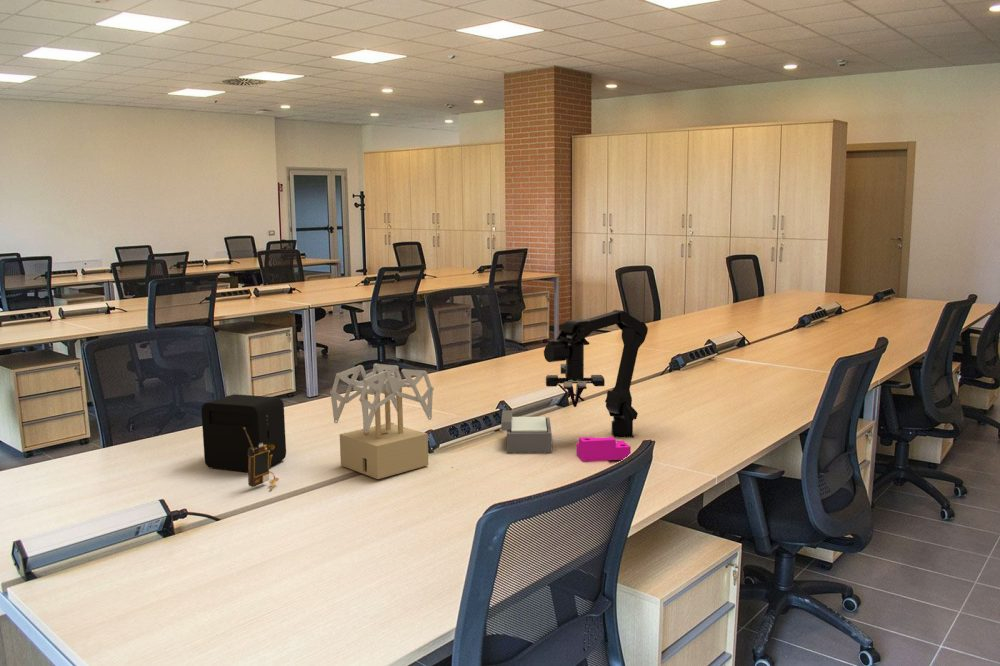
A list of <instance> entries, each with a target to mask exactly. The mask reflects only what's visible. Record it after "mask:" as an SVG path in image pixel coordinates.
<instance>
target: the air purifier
mask: <svg viewBox="0 0 1000 666" xmlns="http://www.w3.org/2000/svg"><path fill="white" fill-rule="evenodd" d="M200 410H201V422H202V423H201V424H202V438H203V439H202V441H203V454H204V455H203V456H204V457H203V458H204V463H205V464H206V466H207V467H209V468H210V467H212V468H211V469H216V468H218V469H217V470H225V469H227V471H237V472H245V473H248V449H249V448H250V447H251V445H250V443H249V440H248V437H247V435H246V432H247V434H248V436H249V438H250V440H251V443H252V445H253V447H257V446H259V443H263V444H267V445H274V446H275V448H274V449H273V450H271V449H270V448H269V450H270V453H269V456H270V455H273V456H272V458H271V464H270V467H271V466H273V465H275V464H277V463H279V462H282V461H283V460H285V459H286V456H287V444H286V443H287V441H286V423H285V420H286V419H285V405H284V401H283V400H282V399H281V398H280V397H277V396H267V395H265V396H264V395H249V394H235V393H233V394H231V395H227V396H224V397H221V398H218V399H214V400H210V401H208V402H205V403H203V404H202V406H201V408H200ZM244 427H245V430H246V432H245V430H244V429H243V428H244Z"/></svg>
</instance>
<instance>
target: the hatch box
mask: <svg viewBox="0 0 1000 666" xmlns="http://www.w3.org/2000/svg"><path fill="white" fill-rule="evenodd" d="M544 417H545V418H546V426H547V432H511V431H506V453H507V454H553V453H552V452H553V451H552V449H553V447H552V441H553V440H552V439H553V438H552V437H553V435H552V433H553V432H552V426H551V420H550V419H551V418H550V416H549V417H546V416H544Z"/></svg>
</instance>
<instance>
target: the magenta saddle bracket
mask: <svg viewBox="0 0 1000 666" xmlns="http://www.w3.org/2000/svg"><path fill="white" fill-rule="evenodd" d="M575 449H576V456H577V457H578V459H580V461H582V462H584V463H586V462H599V461H603V462H604V461H615V460H616V461H617V460H619V461H620V460H624V459H623V458H625V457H627V456H628V455H629V454H631V449H632V448H631V446H630V445H629V444H628V443H627V442H626V441H624V440H617V439H616V438H615V437H614V436H610V437H597V436H596V437H595V436H587V437H586V436H585V437H578V442H576V448H575Z"/></svg>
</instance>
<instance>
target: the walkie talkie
mask: <svg viewBox="0 0 1000 666" xmlns="http://www.w3.org/2000/svg"><path fill="white" fill-rule="evenodd" d="M243 429H244V430H245V427H244V428H243ZM245 432H246V430H245ZM246 435H247V437H248V440H249V443H250V445H251V447H250V448H249V449H248V472H247V475H248V476H247V484H248V486H249V487H251V488H253V487H256V486H260V485H261V484H264V483H266V482H268V481H269V480H270V479H269V478H270V474H272V477H273V479H271V480H270V481H269V484H271V485H270V487H269V489H271V488H274V487H275V483H276V482H277V483H278V481H280V478H279V477H276V475H274V472H273V471H270V468H271V466H270V464H271V458H272V456H273V455H270V456H269V453H270V450H269V448H270V449H271V450H273V449H274V448H275V446H274V445H267V444H263V443H259V446H257V447H253V445H252V443H251V440H250V438H249V436H248V434H247V432H246Z"/></svg>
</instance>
